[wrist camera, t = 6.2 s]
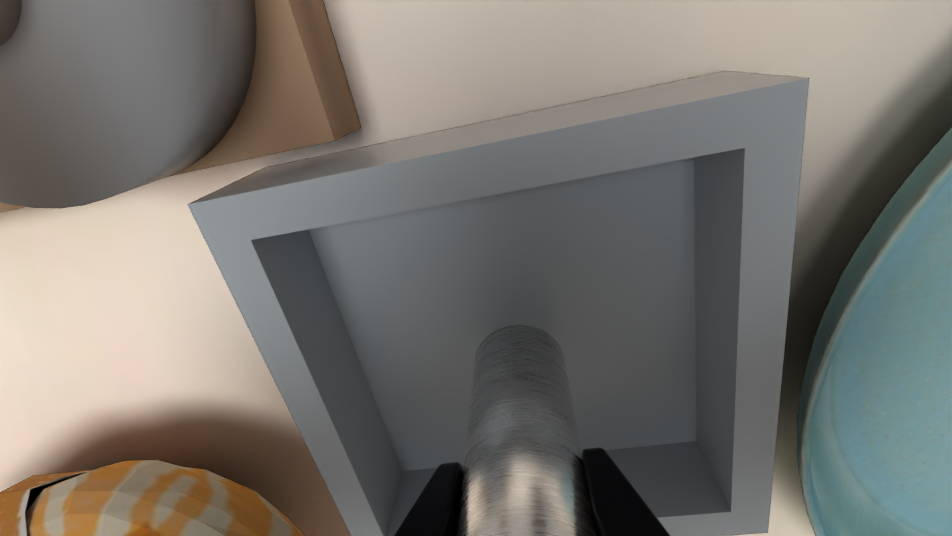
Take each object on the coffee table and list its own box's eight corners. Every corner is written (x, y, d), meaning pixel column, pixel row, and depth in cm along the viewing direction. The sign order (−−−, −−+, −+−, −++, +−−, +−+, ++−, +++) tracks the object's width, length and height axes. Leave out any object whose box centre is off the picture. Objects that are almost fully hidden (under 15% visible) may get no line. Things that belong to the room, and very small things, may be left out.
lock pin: (568, 306, 11) (715, 903, 3) (581, 398, 13) (712, 996, 5) (452, 323, 12) (340, 890, 4) (476, 411, 13) (428, 976, 5)
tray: (725, 70, 11) (809, 77, 8) (717, 441, 16) (767, 532, 13) (263, 167, 12) (187, 204, 9) (388, 474, 17) (364, 562, 14)
